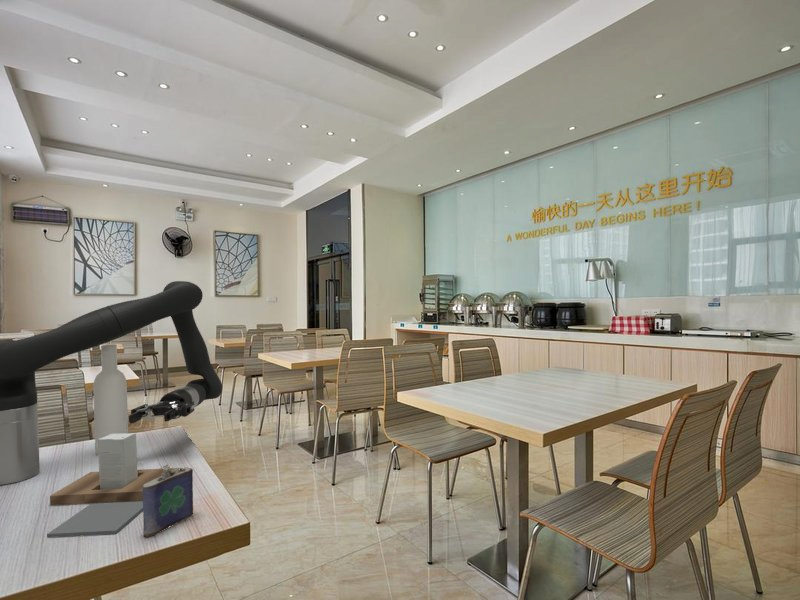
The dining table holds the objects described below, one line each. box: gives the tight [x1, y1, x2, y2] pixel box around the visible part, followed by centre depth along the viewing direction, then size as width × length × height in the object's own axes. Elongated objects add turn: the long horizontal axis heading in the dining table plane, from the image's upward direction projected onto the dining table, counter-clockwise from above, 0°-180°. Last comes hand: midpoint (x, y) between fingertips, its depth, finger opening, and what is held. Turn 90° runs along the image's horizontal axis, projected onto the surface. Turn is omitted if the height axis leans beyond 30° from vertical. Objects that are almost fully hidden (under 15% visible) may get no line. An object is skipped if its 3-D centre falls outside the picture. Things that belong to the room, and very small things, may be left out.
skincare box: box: [98, 432, 138, 490], centre depth 93 cm, size 6×4×12 cm
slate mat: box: [46, 501, 143, 538], centre depth 80 cm, size 12×11×1 cm
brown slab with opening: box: [49, 467, 179, 506], centre depth 93 cm, size 20×12×2 cm, turn 92°
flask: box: [142, 464, 194, 537], centre depth 77 cm, size 9×3×11 cm, turn 151°
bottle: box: [92, 343, 129, 457], centre depth 118 cm, size 8×8×30 cm
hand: (148, 418), depth 104 cm, fingers open, 8 cm apart
